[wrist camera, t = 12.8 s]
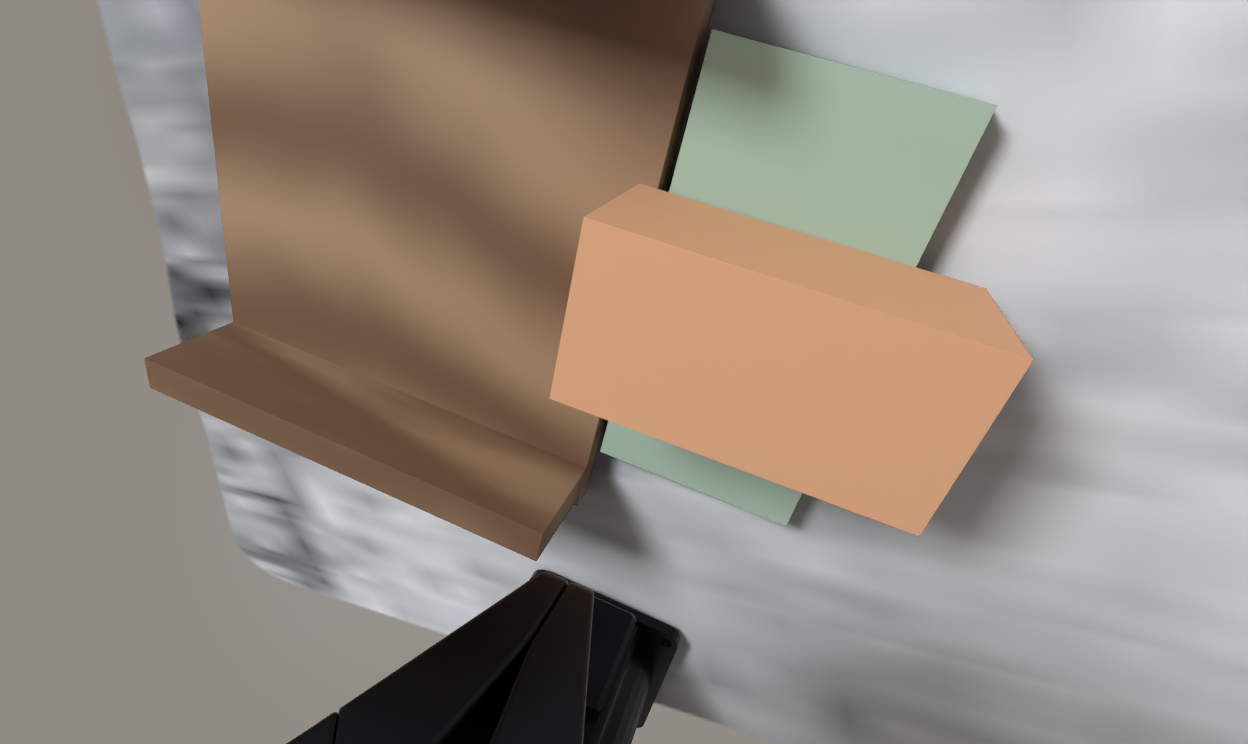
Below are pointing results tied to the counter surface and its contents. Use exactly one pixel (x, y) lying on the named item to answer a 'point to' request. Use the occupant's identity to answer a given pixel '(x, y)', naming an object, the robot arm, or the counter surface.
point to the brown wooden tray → (425, 232)
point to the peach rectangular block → (783, 353)
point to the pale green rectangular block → (809, 188)
